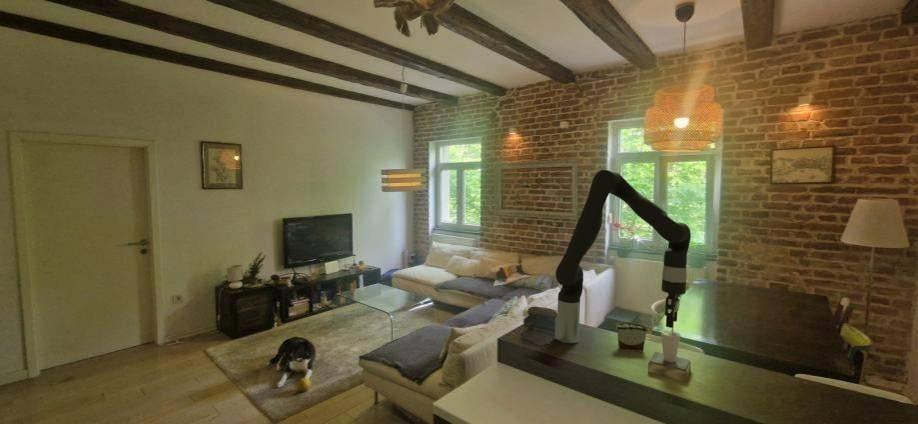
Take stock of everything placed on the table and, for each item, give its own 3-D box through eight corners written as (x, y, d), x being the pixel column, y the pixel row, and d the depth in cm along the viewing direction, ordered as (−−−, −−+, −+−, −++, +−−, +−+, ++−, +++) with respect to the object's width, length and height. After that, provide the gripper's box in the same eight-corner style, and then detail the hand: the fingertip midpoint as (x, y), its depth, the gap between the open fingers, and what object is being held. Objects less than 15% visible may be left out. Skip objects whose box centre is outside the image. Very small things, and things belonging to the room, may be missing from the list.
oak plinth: (647, 371, 138) (648, 360, 138) (653, 361, 147) (654, 351, 147) (686, 382, 131) (687, 370, 131) (690, 370, 140) (691, 359, 140)
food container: (641, 345, 163) (642, 322, 162) (647, 351, 157) (648, 327, 156) (611, 344, 164) (612, 320, 164) (615, 349, 158) (616, 325, 158)
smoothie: (672, 365, 135) (674, 325, 134) (655, 358, 140) (657, 320, 140) (683, 361, 138) (685, 323, 137) (666, 355, 143) (668, 317, 143)
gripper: (665, 274, 145) (663, 317, 146) (658, 280, 134) (655, 326, 135) (688, 277, 141) (686, 321, 142) (683, 284, 130) (680, 332, 130)
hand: (671, 324), depth 138 cm, fingers open, 8 cm apart
